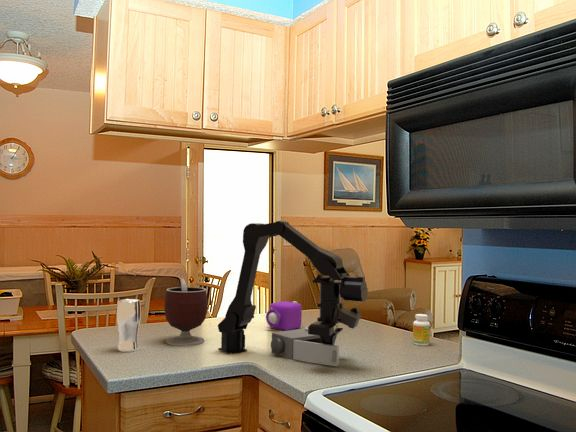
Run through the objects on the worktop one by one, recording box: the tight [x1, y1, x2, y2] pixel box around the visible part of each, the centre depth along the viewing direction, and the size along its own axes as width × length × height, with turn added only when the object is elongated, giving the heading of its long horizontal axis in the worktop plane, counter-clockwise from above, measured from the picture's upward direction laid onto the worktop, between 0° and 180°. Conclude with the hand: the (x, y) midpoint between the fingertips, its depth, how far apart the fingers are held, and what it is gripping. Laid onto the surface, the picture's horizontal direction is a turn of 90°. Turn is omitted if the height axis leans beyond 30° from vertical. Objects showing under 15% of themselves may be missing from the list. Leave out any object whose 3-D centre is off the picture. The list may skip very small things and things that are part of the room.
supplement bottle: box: [412, 313, 431, 347], centre depth 186 cm, size 5×5×10 cm
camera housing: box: [270, 326, 323, 360], centre depth 170 cm, size 16×10×7 cm, turn 127°
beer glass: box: [116, 298, 142, 353], centre depth 170 cm, size 7×7×15 cm
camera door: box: [292, 340, 340, 367], centre depth 158 cm, size 14×2×5 cm, turn 58°
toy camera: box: [265, 300, 303, 331], centre depth 208 cm, size 11×14×10 cm
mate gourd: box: [163, 277, 209, 347], centre depth 184 cm, size 16×14×20 cm
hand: (329, 354), depth 158 cm, fingers closed
